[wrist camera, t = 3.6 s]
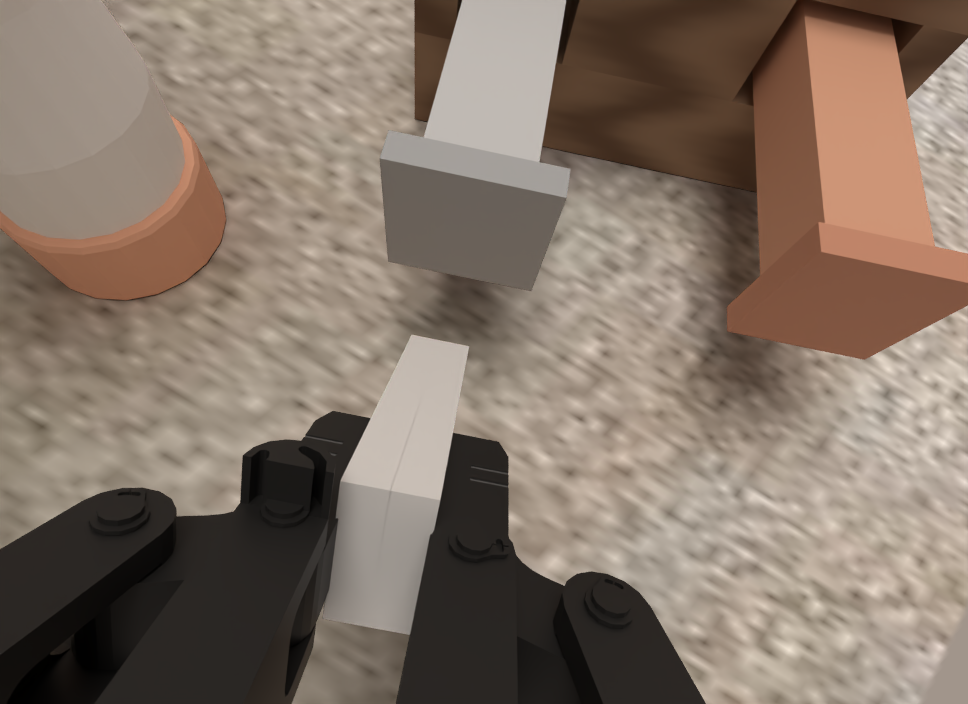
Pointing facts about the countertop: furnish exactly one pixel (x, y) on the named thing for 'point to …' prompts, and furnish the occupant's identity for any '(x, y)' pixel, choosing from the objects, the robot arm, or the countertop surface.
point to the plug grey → (481, 152)
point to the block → (677, 74)
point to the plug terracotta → (840, 194)
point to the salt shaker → (97, 156)
